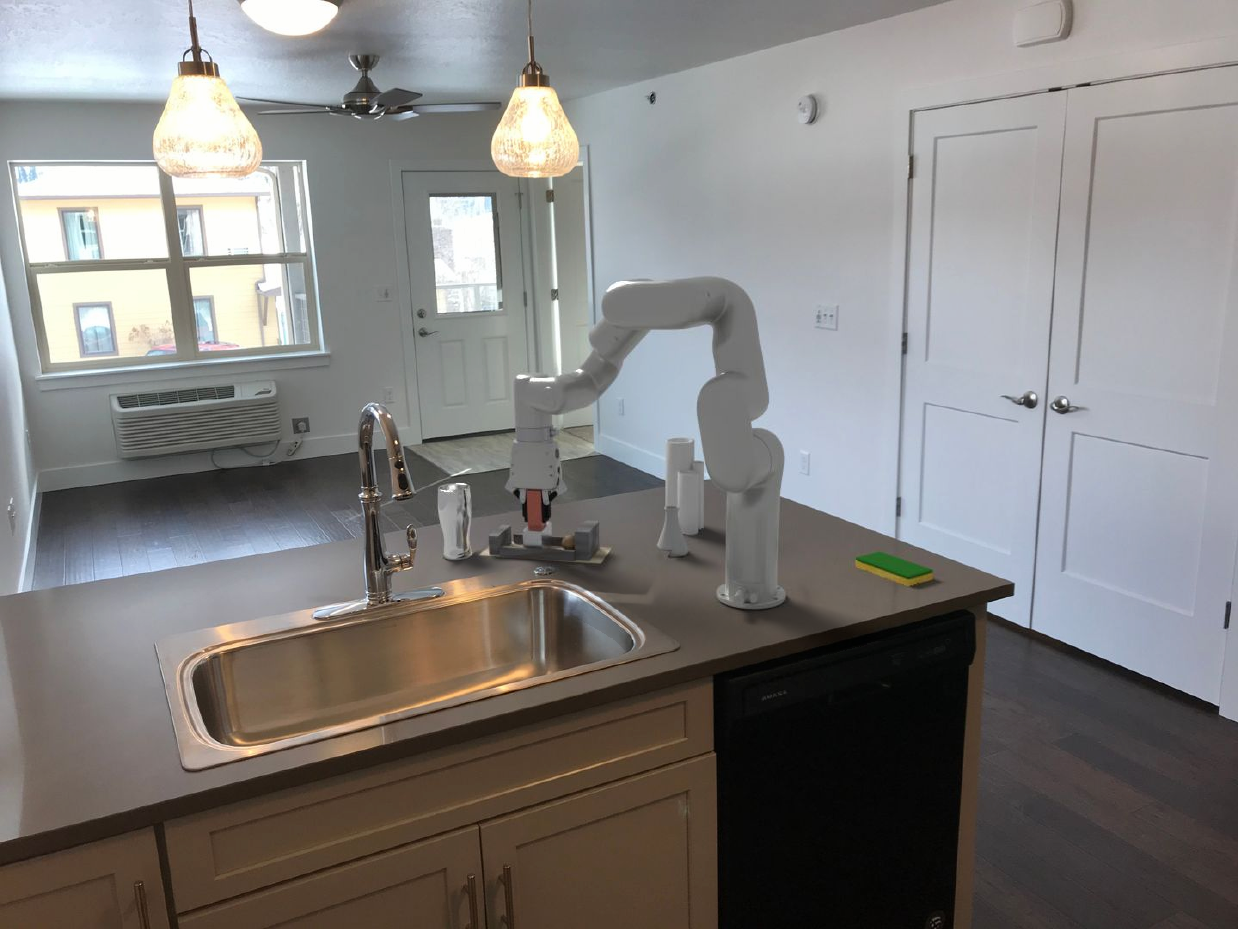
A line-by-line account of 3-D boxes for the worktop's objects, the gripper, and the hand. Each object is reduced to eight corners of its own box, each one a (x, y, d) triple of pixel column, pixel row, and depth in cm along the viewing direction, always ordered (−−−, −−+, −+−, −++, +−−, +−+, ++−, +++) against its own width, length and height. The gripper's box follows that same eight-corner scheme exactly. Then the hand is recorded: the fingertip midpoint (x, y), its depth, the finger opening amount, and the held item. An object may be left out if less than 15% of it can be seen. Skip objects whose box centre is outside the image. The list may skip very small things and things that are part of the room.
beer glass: (464, 562, 199) (460, 492, 196) (434, 559, 202) (430, 490, 198) (479, 552, 206) (476, 484, 202) (450, 549, 208) (447, 482, 204)
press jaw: (542, 555, 197) (539, 493, 194) (523, 553, 198) (521, 492, 195) (552, 544, 204) (550, 485, 201) (534, 543, 205) (532, 484, 202)
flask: (689, 558, 200) (690, 511, 198) (655, 558, 201) (654, 512, 198) (688, 546, 207) (688, 502, 205) (654, 547, 208) (654, 502, 205)
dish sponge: (879, 562, 198) (879, 550, 197) (933, 581, 186) (934, 569, 186) (854, 568, 194) (854, 557, 193) (907, 588, 183) (908, 576, 182)
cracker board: (600, 570, 194) (599, 534, 192) (479, 562, 199) (477, 527, 198) (612, 554, 203) (611, 520, 201) (496, 547, 209) (494, 513, 207)
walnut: (576, 556, 198) (576, 538, 197) (560, 555, 198) (559, 537, 197) (581, 550, 201) (581, 533, 200) (565, 549, 202) (564, 532, 201)
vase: (660, 523, 224) (659, 439, 220) (686, 519, 228) (686, 436, 223) (685, 536, 215) (685, 448, 210) (712, 531, 218) (713, 445, 213)
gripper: (577, 431, 197) (579, 518, 201) (502, 429, 201) (505, 513, 205) (567, 439, 190) (569, 528, 194) (489, 436, 194) (493, 524, 198)
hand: (537, 520), depth 200 cm, fingers closed on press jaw, 3 cm apart
